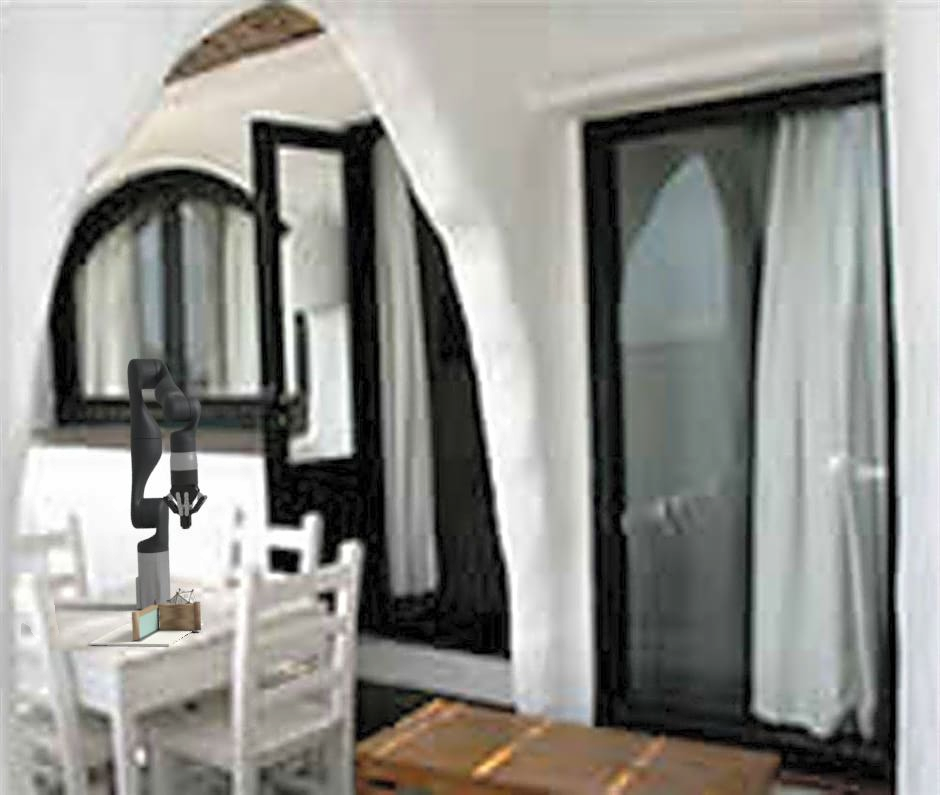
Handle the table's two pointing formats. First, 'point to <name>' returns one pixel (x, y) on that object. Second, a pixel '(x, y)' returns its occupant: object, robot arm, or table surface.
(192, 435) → the robot arm
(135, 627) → the tan and green panel
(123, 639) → the board
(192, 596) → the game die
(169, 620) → the fixed fence section
